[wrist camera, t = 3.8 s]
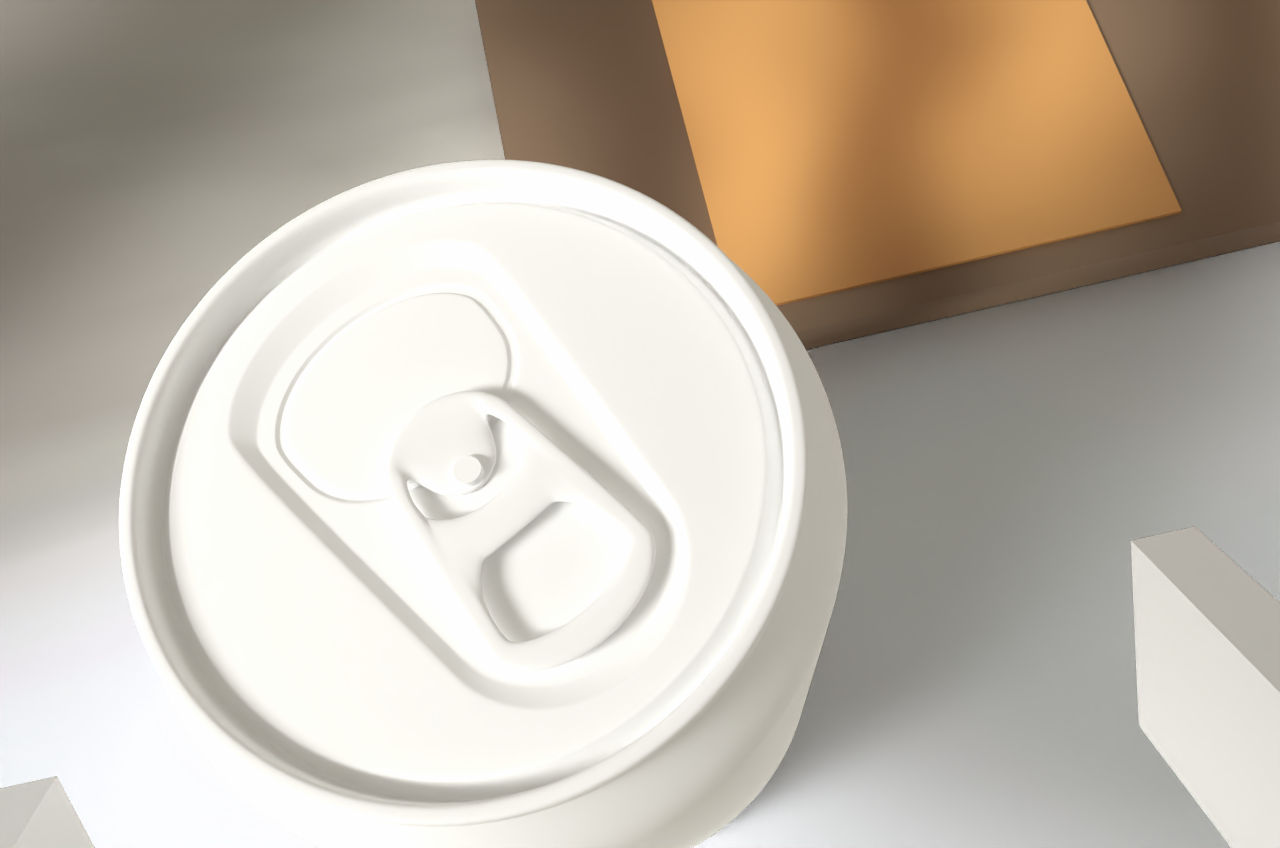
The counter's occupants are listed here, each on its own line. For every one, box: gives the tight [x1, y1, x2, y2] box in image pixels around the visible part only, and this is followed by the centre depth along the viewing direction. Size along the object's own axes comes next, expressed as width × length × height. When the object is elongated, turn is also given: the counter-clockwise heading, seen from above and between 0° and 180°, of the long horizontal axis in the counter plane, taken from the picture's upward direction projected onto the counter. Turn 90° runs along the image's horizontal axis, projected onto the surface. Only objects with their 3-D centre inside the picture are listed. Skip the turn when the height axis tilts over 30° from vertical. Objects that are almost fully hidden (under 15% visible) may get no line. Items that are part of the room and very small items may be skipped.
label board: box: [475, 0, 1280, 349], centre depth 26 cm, size 18×11×1 cm, turn 102°
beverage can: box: [119, 159, 848, 848], centre depth 17 cm, size 8×8×12 cm
